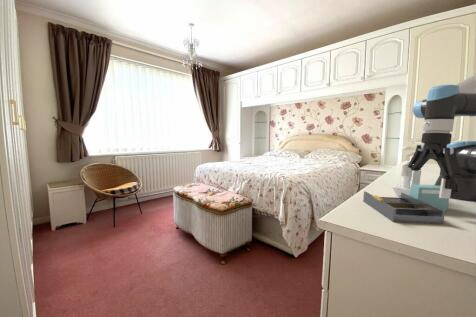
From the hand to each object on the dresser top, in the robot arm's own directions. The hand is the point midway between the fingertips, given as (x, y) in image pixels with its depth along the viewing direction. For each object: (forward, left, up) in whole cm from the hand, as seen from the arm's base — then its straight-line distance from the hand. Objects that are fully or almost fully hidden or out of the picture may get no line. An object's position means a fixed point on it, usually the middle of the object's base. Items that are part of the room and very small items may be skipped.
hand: (428, 192), depth 76 cm
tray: (+13, +5, -6) cm, 15 cm away
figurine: (-1, -14, -6) cm, 15 cm away
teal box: (0, 0, -6) cm, 6 cm away
